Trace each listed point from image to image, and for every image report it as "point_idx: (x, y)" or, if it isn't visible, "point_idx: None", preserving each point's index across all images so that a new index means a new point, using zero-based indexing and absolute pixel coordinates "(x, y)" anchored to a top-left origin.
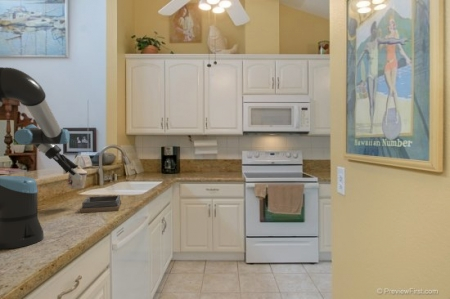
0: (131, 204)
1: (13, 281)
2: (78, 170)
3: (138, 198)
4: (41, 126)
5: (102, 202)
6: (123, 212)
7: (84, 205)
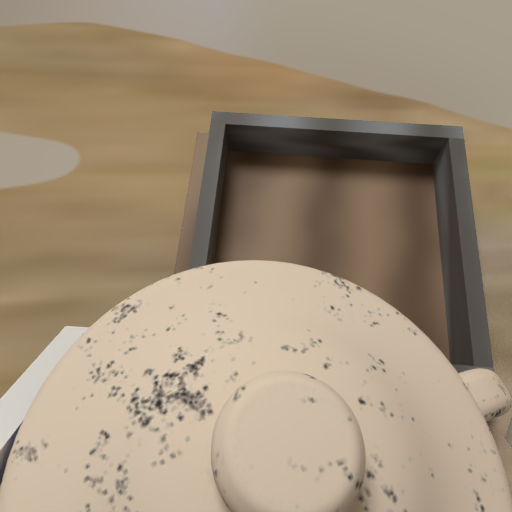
0: (268, 95)
1: None
2: (430, 451)
3: (67, 53)
4: None
5: (471, 226)
6: (508, 139)
7: None
